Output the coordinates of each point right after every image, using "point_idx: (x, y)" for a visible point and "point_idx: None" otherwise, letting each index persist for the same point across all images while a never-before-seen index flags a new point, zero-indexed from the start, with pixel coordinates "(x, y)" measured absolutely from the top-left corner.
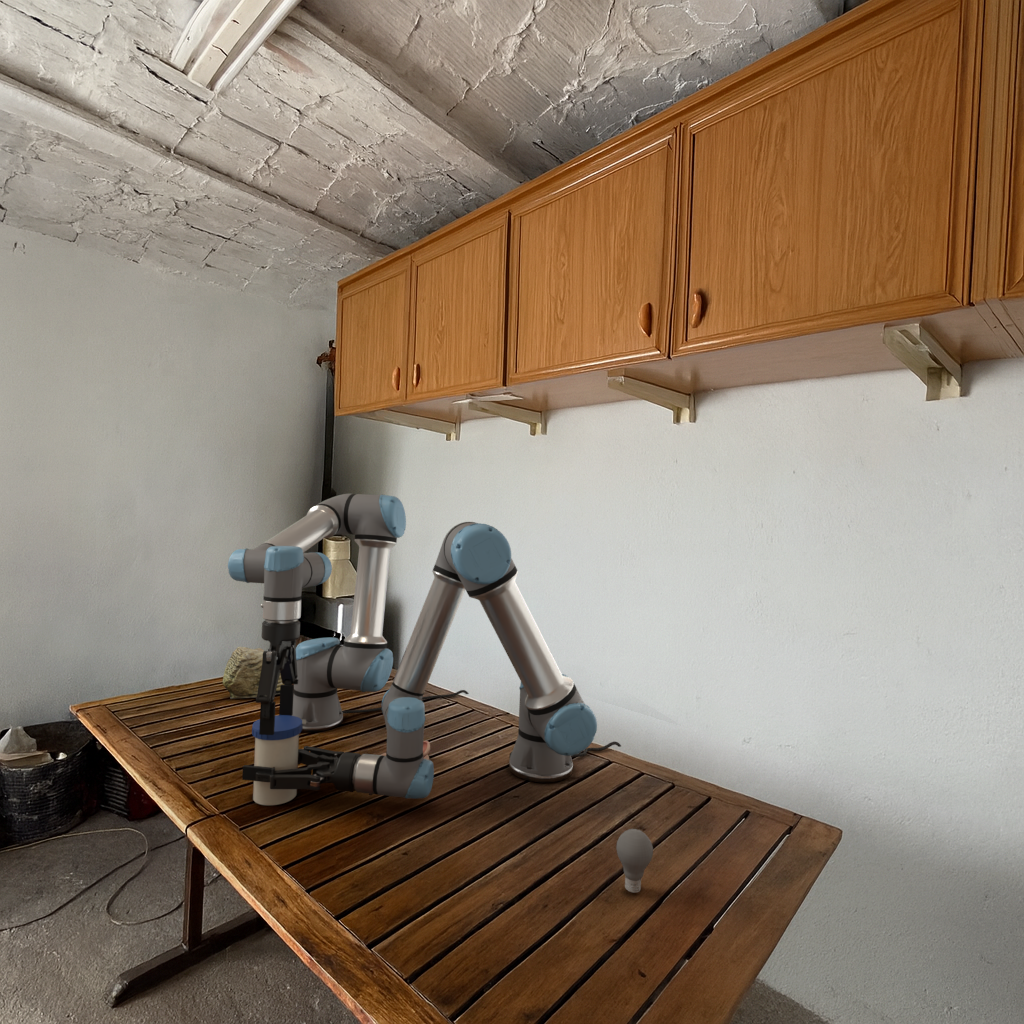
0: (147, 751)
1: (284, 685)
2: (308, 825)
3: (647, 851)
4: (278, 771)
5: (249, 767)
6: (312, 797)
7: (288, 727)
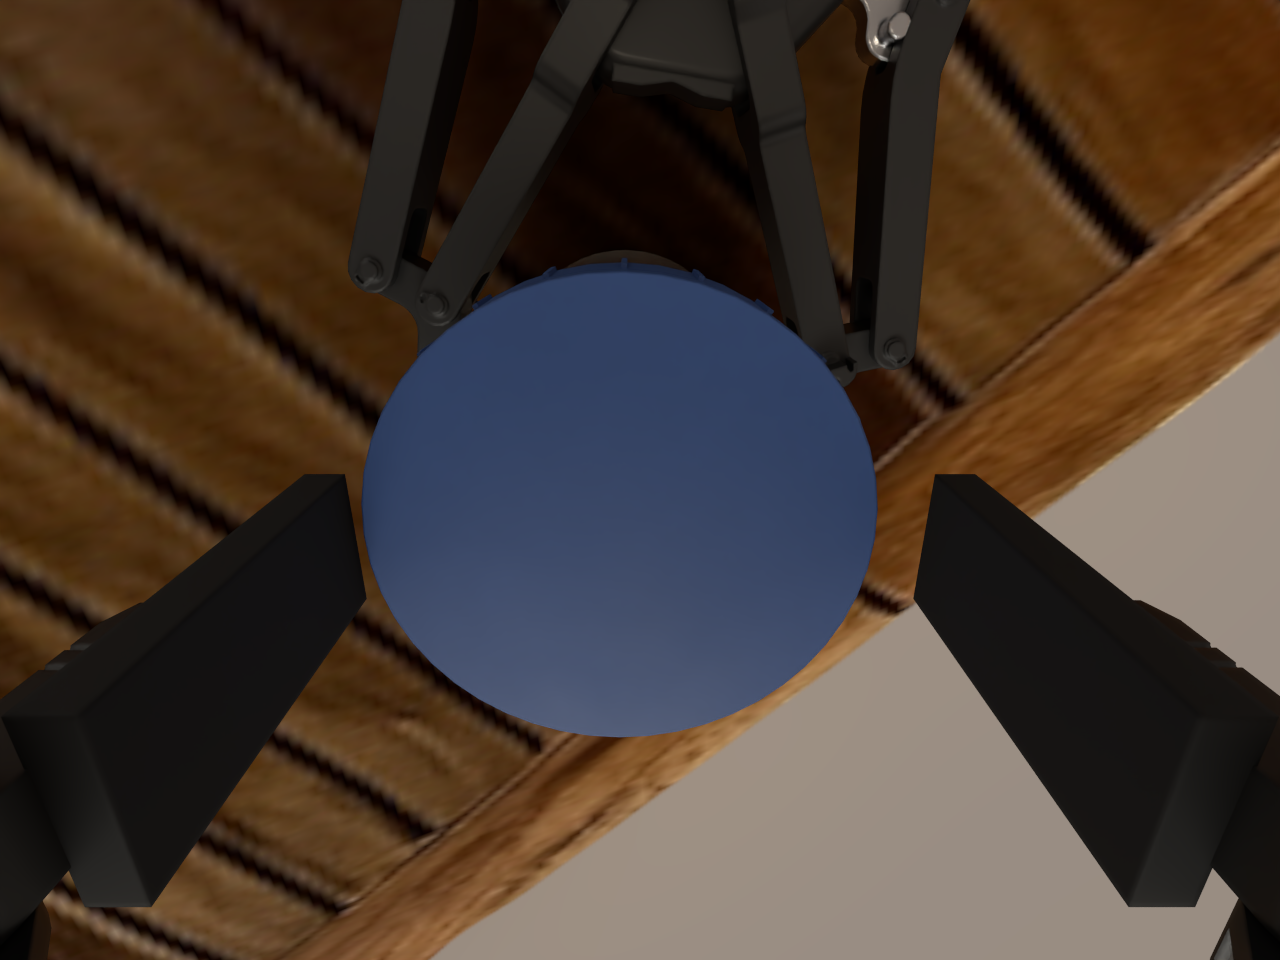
0: None
1: (105, 856)
2: (956, 68)
3: None
4: (826, 339)
5: None
6: (631, 145)
7: (755, 385)
